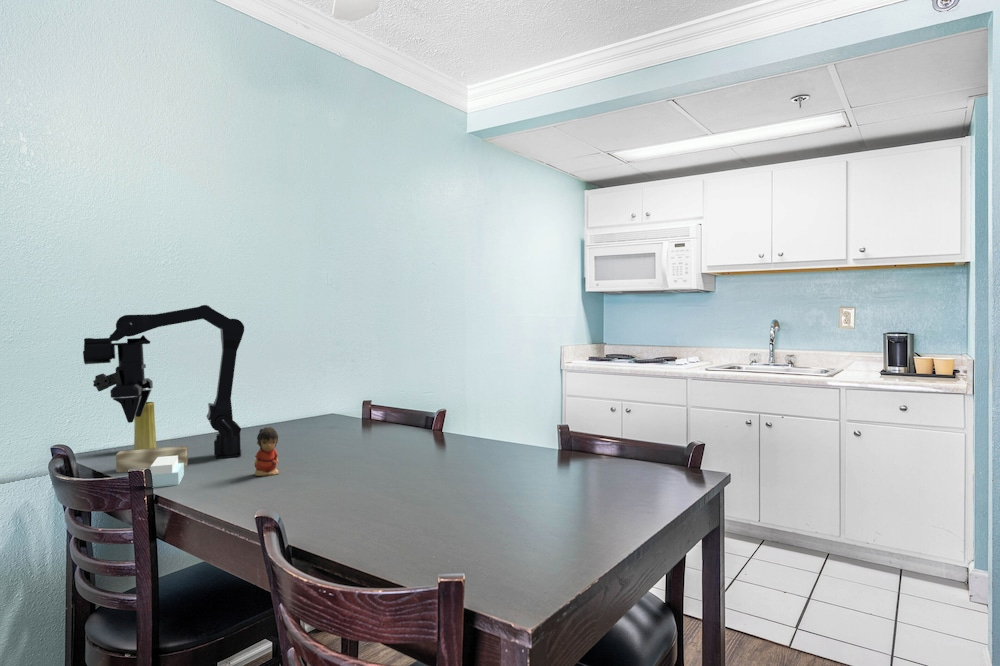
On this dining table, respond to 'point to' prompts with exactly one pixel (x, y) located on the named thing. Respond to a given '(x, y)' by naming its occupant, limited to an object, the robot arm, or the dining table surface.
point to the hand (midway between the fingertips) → (134, 419)
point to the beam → (148, 457)
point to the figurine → (266, 452)
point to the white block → (167, 471)
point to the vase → (145, 428)
